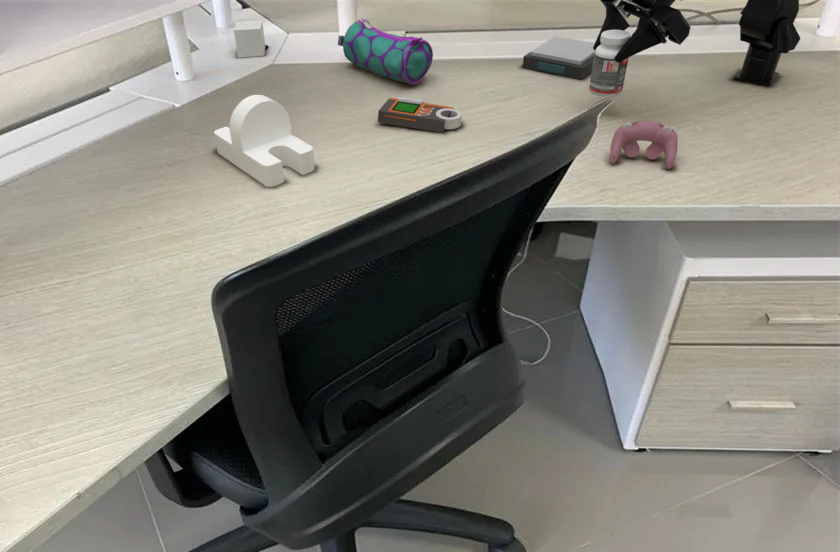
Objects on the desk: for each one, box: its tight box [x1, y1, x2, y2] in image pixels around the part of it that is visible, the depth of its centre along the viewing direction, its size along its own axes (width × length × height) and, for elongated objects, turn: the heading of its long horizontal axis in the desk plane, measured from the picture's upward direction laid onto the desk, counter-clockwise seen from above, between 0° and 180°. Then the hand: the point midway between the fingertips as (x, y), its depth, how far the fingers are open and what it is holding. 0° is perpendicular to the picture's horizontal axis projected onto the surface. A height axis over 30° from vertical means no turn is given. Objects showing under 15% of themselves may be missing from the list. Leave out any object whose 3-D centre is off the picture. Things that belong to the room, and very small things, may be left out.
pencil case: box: [337, 17, 434, 86], centre depth 145 cm, size 21×9×10 cm, turn 39°
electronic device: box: [377, 96, 463, 133], centre depth 128 cm, size 7×3×15 cm
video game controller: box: [609, 120, 679, 170], centre depth 112 cm, size 10×5×7 cm, turn 71°
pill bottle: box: [588, 30, 631, 98], centre depth 122 cm, size 6×6×10 cm
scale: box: [521, 35, 595, 81], centre depth 146 cm, size 13×13×3 cm
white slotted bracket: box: [213, 94, 315, 188], centre depth 117 cm, size 10×18×11 cm, turn 36°
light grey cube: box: [233, 20, 266, 58], centre depth 161 cm, size 6×6×6 cm
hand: (604, 55), depth 121 cm, fingers closed on pill bottle, 6 cm apart
